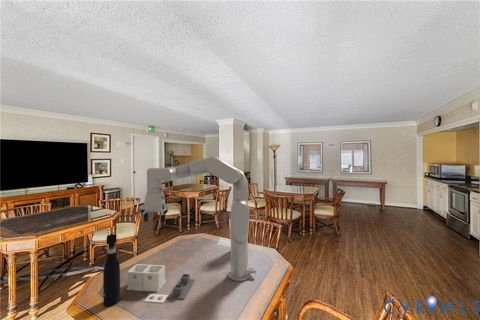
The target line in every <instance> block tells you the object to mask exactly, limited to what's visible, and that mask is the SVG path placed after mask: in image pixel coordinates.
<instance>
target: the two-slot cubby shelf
mask: <svg viewBox="0 0 480 320" xmlns="http://www.w3.org/2000/svg"><path fill="white" fill-rule="evenodd" d="M165 283H167V280H166V265H162V264H159V265H158V264H144V263H143V264H141V263H136V264H134V266H133V267H132V268H130V269H129V270H128V271H127V287H126V290H128V291H139V292H140V291H141V292H143V291H144V292H156V293H157V292H159V291H161V289H162V287H164V285H165Z"/></svg>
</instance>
